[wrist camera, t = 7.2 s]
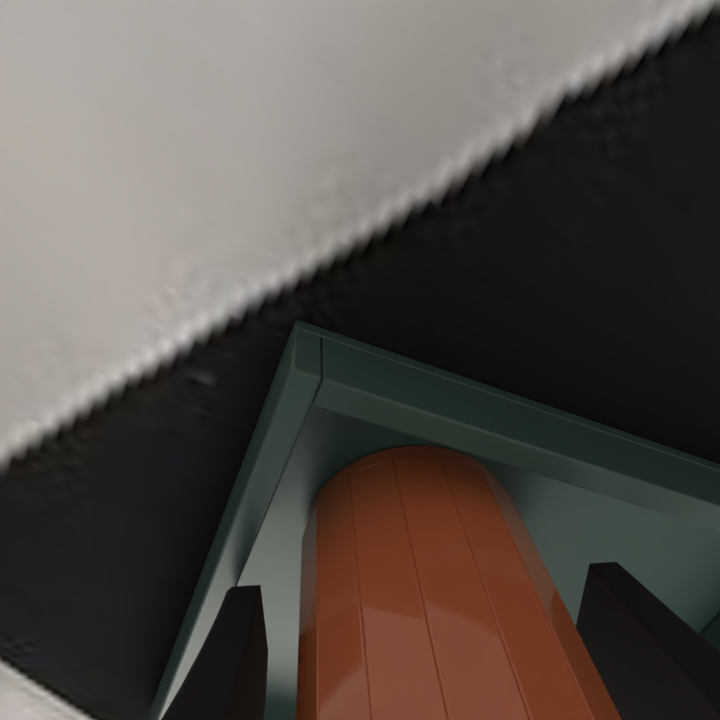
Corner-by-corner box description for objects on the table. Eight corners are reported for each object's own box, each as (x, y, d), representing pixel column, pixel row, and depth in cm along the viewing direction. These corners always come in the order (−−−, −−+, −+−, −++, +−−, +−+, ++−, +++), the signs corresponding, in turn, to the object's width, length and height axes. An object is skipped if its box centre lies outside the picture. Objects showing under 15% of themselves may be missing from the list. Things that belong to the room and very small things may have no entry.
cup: (274, 583, 14) (246, 910, 9) (349, 416, 12) (379, 693, 7) (456, 625, 16) (540, 938, 10) (551, 478, 14) (728, 760, 8)
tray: (150, 709, 17) (124, 802, 15) (295, 318, 12) (290, 367, 10) (565, 779, 20) (596, 864, 18) (816, 496, 15) (904, 565, 13)
